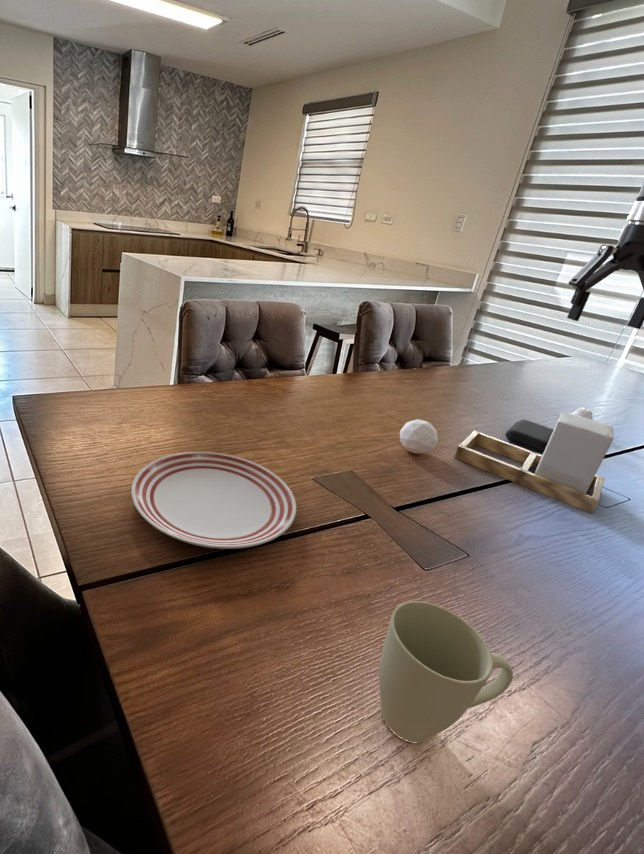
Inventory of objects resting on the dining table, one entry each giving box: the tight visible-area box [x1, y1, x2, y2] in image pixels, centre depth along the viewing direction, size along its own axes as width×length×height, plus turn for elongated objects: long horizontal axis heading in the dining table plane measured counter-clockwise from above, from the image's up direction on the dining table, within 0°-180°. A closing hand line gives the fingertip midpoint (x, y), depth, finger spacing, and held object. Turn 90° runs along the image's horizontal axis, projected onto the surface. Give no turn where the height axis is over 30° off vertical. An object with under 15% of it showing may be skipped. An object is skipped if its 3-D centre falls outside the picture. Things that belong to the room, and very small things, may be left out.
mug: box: [378, 600, 514, 744], centre depth 48 cm, size 11×10×12 cm
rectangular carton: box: [534, 410, 615, 494], centre depth 97 cm, size 9×9×15 cm
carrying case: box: [505, 419, 554, 453], centre depth 120 cm, size 11×3×15 cm
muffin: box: [570, 407, 594, 420], centre depth 128 cm, size 6×6×7 cm
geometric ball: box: [399, 418, 438, 455], centre depth 106 cm, size 8×8×8 cm
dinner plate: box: [130, 451, 297, 550], centre depth 79 cm, size 27×27×3 cm
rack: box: [453, 430, 605, 515], centre depth 103 cm, size 26×13×3 cm, turn 46°
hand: (602, 323), depth 107 cm, fingers open, 13 cm apart
